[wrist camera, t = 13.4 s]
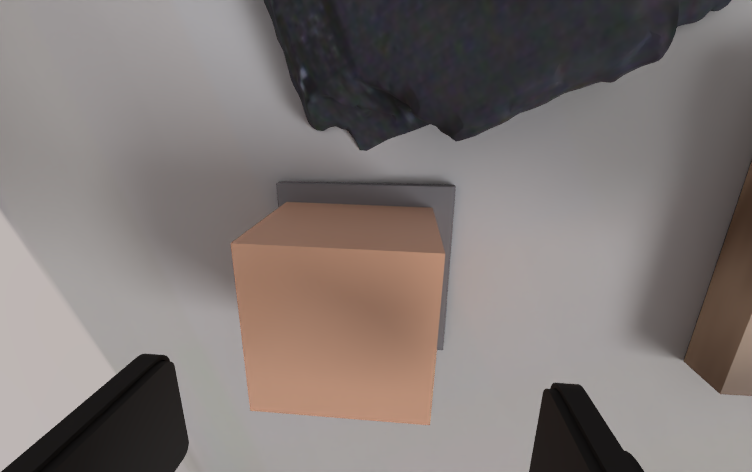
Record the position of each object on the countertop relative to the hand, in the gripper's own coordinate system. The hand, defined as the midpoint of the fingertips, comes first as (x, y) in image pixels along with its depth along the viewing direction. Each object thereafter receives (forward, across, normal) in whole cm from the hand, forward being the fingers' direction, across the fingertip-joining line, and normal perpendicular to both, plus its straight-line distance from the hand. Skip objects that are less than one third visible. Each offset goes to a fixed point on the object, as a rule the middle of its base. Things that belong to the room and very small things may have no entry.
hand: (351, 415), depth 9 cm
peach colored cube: (+7, +1, -1) cm, 7 cm away
